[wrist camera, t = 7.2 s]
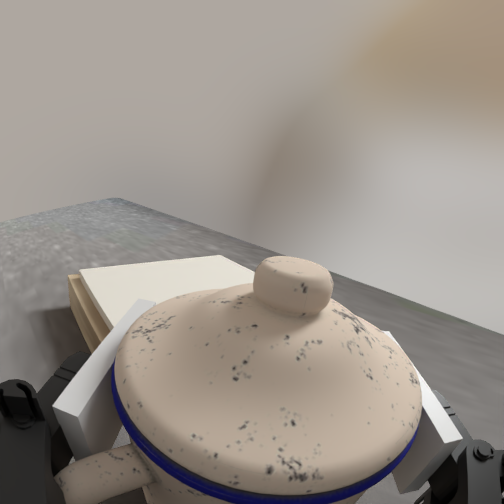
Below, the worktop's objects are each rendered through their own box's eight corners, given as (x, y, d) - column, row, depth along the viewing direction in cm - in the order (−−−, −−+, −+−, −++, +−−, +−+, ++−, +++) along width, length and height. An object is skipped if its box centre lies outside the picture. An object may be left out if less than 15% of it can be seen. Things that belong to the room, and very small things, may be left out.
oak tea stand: (217, 283, 36) (221, 251, 35) (308, 336, 27) (318, 297, 26) (70, 306, 24) (67, 266, 23) (122, 408, 15) (115, 357, 13)
